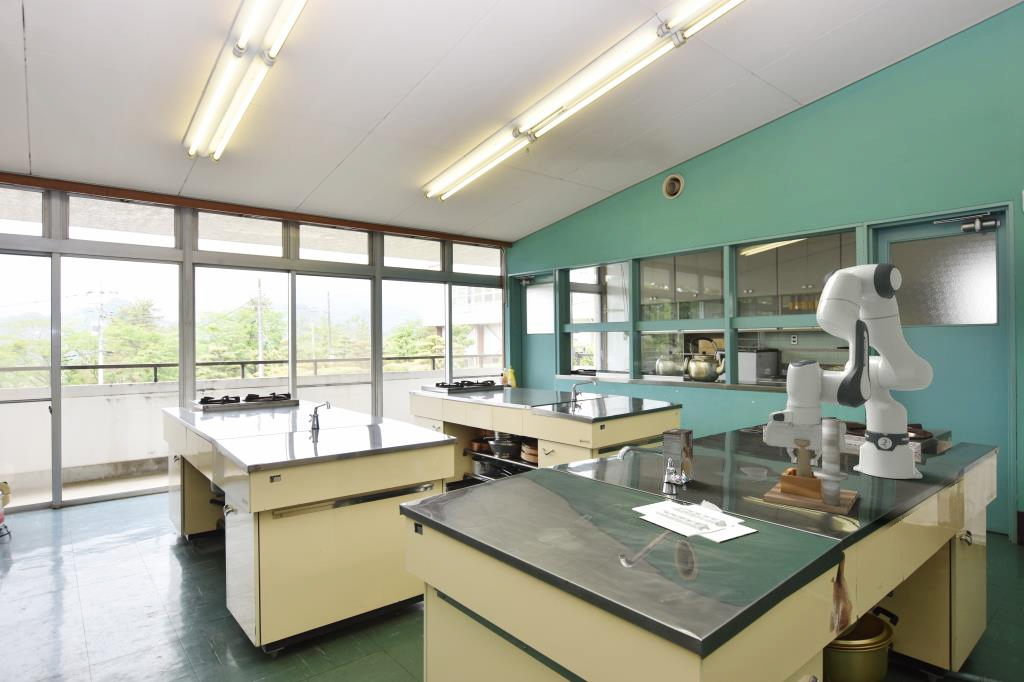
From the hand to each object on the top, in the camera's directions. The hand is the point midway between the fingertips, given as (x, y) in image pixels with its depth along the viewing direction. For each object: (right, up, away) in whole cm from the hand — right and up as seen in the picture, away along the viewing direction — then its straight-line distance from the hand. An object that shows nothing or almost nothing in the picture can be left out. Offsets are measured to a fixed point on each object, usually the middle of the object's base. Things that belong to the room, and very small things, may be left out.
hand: (804, 464), depth 156 cm
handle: (0, -8, 0) cm, 8 cm away
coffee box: (-31, -10, +18) cm, 37 cm away
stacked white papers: (-39, -10, -19) cm, 44 cm away
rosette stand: (+1, -9, -2) cm, 9 cm away
